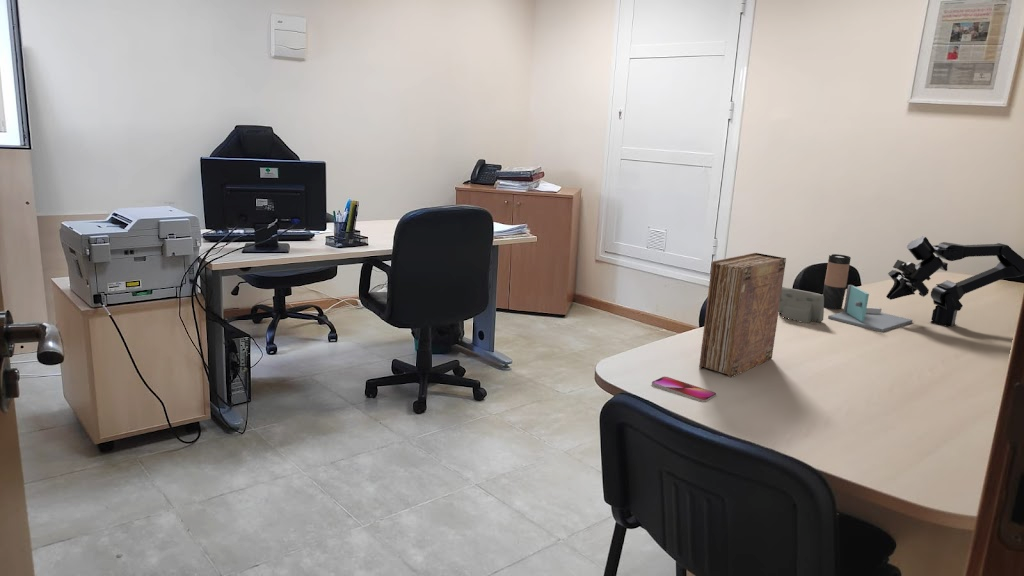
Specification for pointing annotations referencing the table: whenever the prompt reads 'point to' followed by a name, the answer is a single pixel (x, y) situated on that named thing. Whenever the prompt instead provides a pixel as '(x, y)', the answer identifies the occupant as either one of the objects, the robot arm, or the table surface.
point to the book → (741, 312)
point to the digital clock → (801, 305)
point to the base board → (872, 320)
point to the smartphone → (683, 389)
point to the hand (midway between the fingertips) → (888, 298)
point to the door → (856, 302)
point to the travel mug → (836, 281)
